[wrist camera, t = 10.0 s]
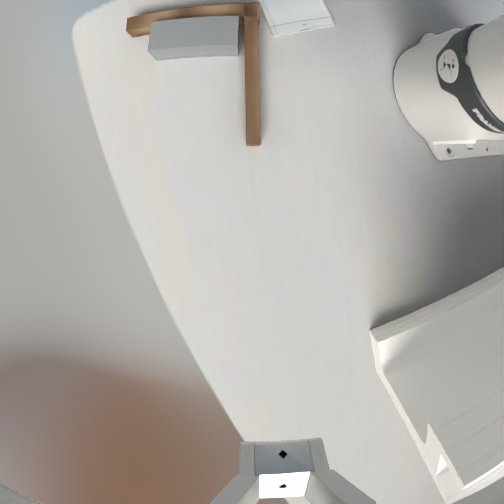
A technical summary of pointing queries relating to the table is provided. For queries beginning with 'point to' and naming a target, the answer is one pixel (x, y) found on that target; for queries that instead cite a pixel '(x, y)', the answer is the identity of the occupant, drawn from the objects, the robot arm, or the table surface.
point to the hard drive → (295, 15)
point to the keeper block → (194, 37)
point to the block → (451, 383)
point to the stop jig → (250, 21)
